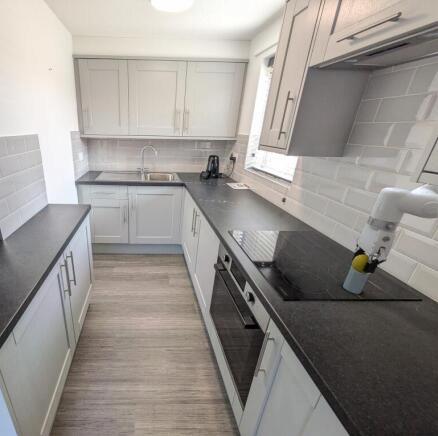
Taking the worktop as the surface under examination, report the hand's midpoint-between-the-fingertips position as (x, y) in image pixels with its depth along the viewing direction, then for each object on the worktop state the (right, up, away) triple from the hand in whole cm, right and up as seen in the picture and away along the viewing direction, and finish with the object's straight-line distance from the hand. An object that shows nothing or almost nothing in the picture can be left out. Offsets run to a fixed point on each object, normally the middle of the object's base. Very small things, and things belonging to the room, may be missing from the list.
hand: (362, 266), depth 87 cm
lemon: (0, -3, +1) cm, 3 cm away
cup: (0, -10, +4) cm, 11 cm away
